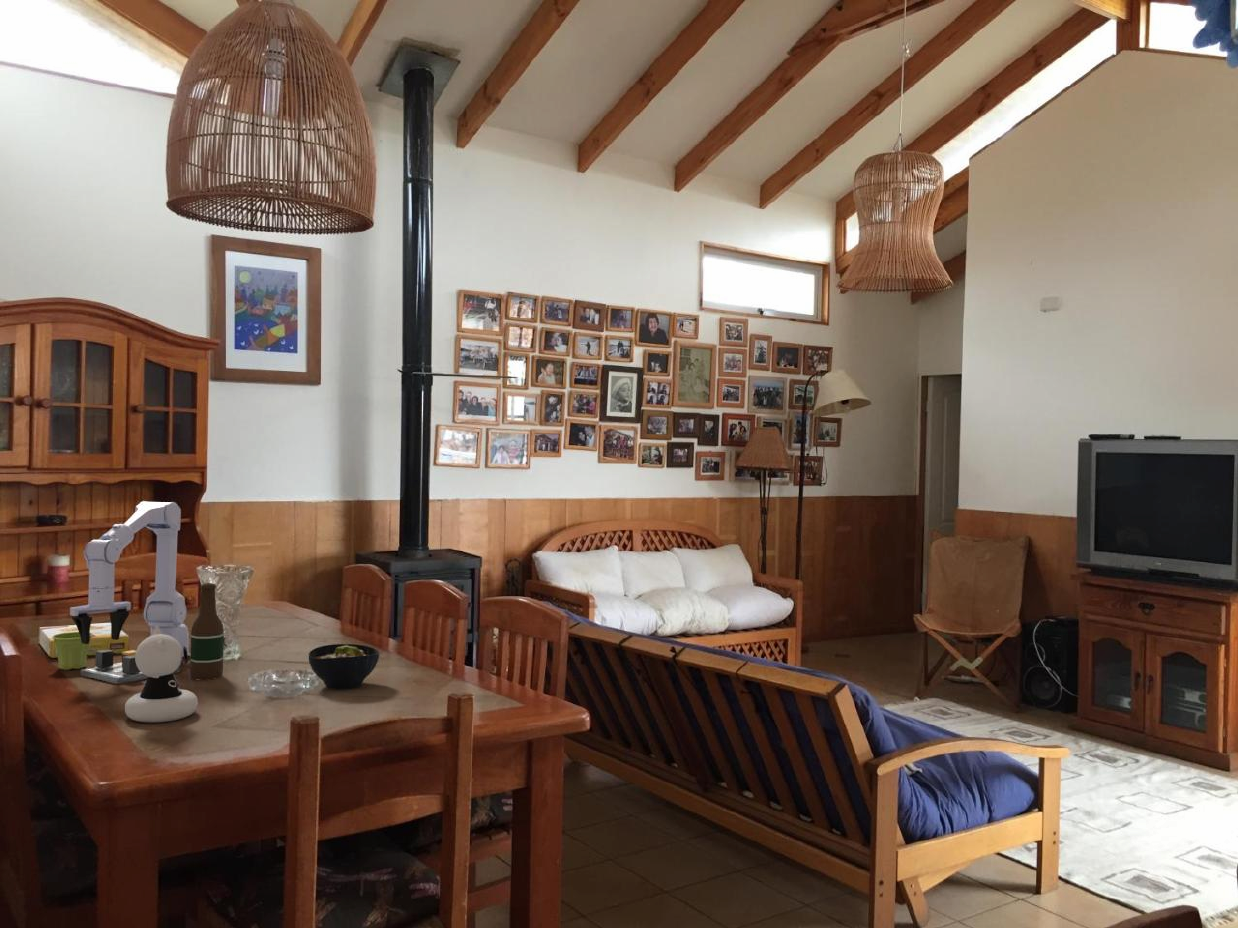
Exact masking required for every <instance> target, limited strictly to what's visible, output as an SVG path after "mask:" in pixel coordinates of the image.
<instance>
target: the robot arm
mask: <svg viewBox="0 0 1238 928" xmlns="http://www.w3.org/2000/svg"><path fill="white" fill-rule="evenodd" d="M181 516H182V510H181V507H180V506H179V505H178V504H177V502H175V501H171V502H165V501H163V502H161V501H146V500H143V501H140V502H139V504H137V505H135V510H134V512H133V514H132V515H131V516H130V517H129V518H128V519H127V520H126V521H125V522H124V523H123V524H122V523H119V524H118V523H115V524H113V525H112V528H111V529H109V530H108V531H107V532H106V533H104V534H102V536H100V538H98V539H92V540H91V541H89V542H88V543H86V545H85V549H84V551H83V557H84V559H85V562H86V568H87V570H88V601H87V602H88V604H85V605H84V604H83V605H79V606H72V607H69V616H71V619H72V620H73V622H74V625H76V626H77V628H78V631H79V634H80V637H81V642H82V643H83V644H89V639H90V625H91V624H92V620H93V617H92V616H90V615H92V614H100V613H109V618H110V623H111V638H112V639H114V640H118V639H119V636H120V632H121V630H122V629H123V626H124V624H125V622H126V620H127V619H128V617H129V615H130V610H132V609H131V608H132V605H131V604H132V602H130V601H118V602H116V601H115V570H116V569H115V566H116V564H115V563H116V562H118V560H120V556H121V554H122V552H123V549H125V548H126V547H127V546H128V545H129V544H131V543H132V542H133V540H134V538H135V536H134V535H135V534H136V533H137V532H139V531H140V530H141V529H144V528H145V527H146V528H147V529H149V530H151V531H153V533H154V534H155V535H156V557H155V577H154V578H155V579H154V580H155V581H154V582H155V583H154V584H155V585H154V586H155V587H154V592H152V593H151V594H150V595H148V596H147V597H146V601H145V607H144V610H143V618H144V621H145V622H146V623H147V625H148V627H150V636H153V633H154V630H155V626H156V623H157V624H158V627H159V629H160V631H161V634H164V635H168V636H171V637H173V638H174V639H176V640H177V641H178V643H179V644H180V646H181V648H182V654H183V648H184V647H183V646H185V647H186V648H185V649H187V657H190V656H191V653H190V652H189V650H190V647H189V646H190V634H189V633H190V632H189V629H188V627H187V625H186V624H185V623H184V621H185V620H186V617H187V607H186V599H185V597H184V595H182V594H181V593H179V592H178V591H177V590H176V586H177V585H176V583H177V580H176V579H177V561H178V560H177V559H178V558H177V556H178V555H177V554H178V550H177V549H178V533H179V532H178V531H180V530H181ZM182 658H185V656H184V654H183V655H182Z"/></svg>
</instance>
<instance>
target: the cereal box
mask: <svg viewBox="0 0 1238 928" xmlns="http://www.w3.org/2000/svg"><path fill="white" fill-rule="evenodd" d="M69 632H79V631H78V628H77V626H76V624H74V625H58V626H56V625H55V626H42V627H40V626H39V631H38V644H39V645H40V646H41V647H42V649H43V650H44V651H45V653H47V655H48V656H49V658H51V659H54V658H57V659H58V655H57V649H56V644H55V642H54V639H53V638H52V636H54V635H57V634H62V633H69ZM90 633H93V636H91V640H90V642H89V648H88V654H87V655H88V656H95V655H96V651H100V650H106V649H107V650H112V651H113V653H115V654H122V652H125V651H131V649H130V646H131V637H130V636H129V635H128V634H127V633H125V632H124V631H123V630H122V629H121V632H120V636H119V639H118V640H114V639H112V638H111V622H103V623H101V622H100V623H91V625H90Z"/></svg>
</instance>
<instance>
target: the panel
mask: <svg viewBox="0 0 1238 928" xmlns="http://www.w3.org/2000/svg"><path fill="white" fill-rule="evenodd" d="M94 657H95V659H94V661H95V662H94V663H95V664H94V665H95V666H94V667H90V668H89V667H88V668H84V669H83V668H82V669H80V676H81V677H83V678H84V677H85V678H88V679H92V678H94V680H96V679H97V681H100V680H102V681H101V682H105V681H106V683H110V684H114V685H121V684H125V683H132V682H137V681H143V680H146V679H147V678H148V677H149V676H146V675H144V674H143V673H142V672H141V671H140V670H139V669H138V667H137V665H136V662H135V655H132V656H126V657H123V668H122V661H121V662H117V663H115V662H114V654H113V651H112V650H107V649H106V650H100V651H96V655H94ZM178 672H179V673H180V666H179V667H178V668H177V669H176V670H175V671H174V672H173V674H177V673H178ZM179 673H178V674H179Z"/></svg>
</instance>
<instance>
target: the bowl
mask: <svg viewBox="0 0 1238 928" xmlns="http://www.w3.org/2000/svg"><path fill="white" fill-rule="evenodd" d="M379 659H380V651H379V650H378V649H376V648H374V647H371V646H369V645H364V644H363V645H362V644H353V643H337V644H335V643H334V644H333V643H332V644H327V645H321V646H318V647H316V648H314V649H312V650H311V651H309V653H308V663H309V665H310V667H311V670H312V672H314V674H315V675H316V676H317V677H318V678H319V679H320V680H322V681H323V684H324V685H325V686H326V687H325V688H327V689H331V690H341V691H342V690H343V691H344V690H352V689H353V690H354V689H356V688H359V687H361V685H362V684H363V682H364V680H365V679H366V678H367V677H368V676H369V675H370V674H371V673H372V672H373V671H374V669H375V668H376V666H377V664H378V662H379Z"/></svg>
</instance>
